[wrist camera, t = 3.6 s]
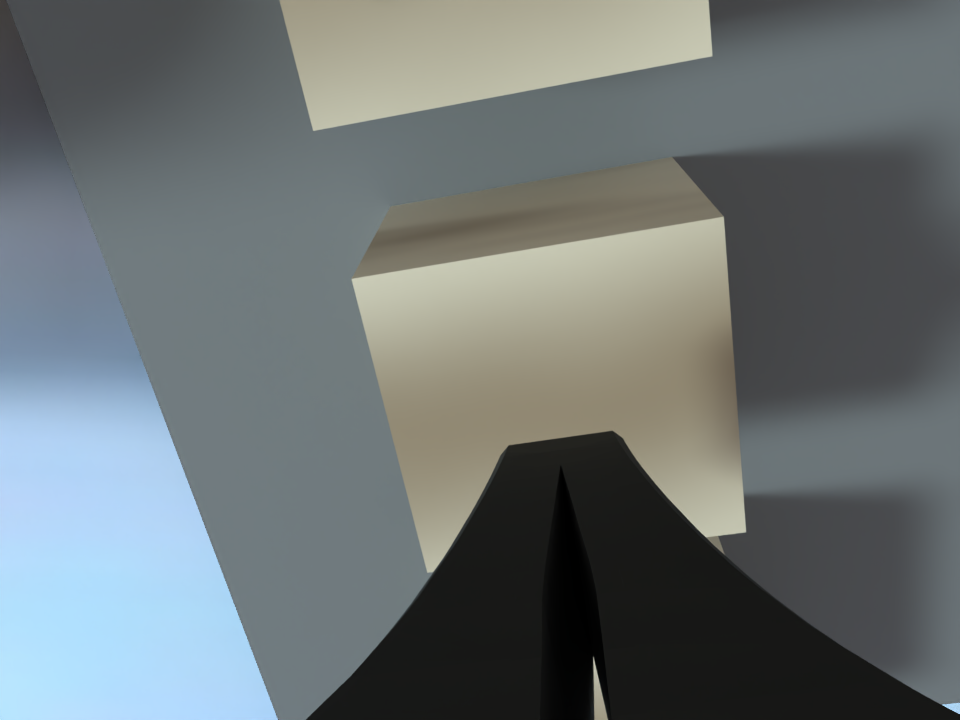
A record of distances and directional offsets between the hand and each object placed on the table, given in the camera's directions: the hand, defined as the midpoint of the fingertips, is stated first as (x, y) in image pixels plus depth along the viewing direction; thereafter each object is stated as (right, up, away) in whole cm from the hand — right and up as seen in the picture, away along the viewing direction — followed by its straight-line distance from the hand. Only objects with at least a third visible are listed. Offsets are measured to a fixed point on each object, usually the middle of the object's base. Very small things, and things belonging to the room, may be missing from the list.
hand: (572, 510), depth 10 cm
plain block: (0, +3, +6) cm, 6 cm away
